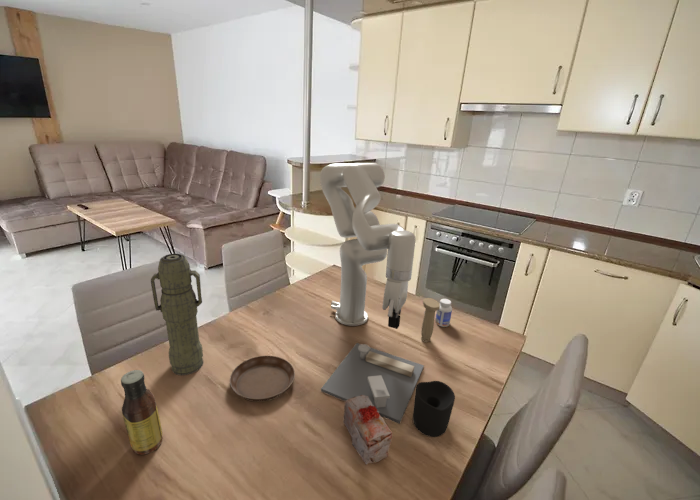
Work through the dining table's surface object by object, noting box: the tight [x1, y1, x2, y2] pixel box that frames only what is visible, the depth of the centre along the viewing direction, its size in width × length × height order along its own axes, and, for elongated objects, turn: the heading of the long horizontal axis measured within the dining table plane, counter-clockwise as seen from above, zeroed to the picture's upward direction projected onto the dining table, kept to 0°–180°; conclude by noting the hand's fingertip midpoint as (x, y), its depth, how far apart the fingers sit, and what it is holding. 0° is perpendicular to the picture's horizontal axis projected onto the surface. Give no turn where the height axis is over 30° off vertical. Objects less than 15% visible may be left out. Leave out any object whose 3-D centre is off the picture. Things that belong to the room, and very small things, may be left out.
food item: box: [342, 395, 393, 465], centre depth 80 cm, size 14×8×10 cm, turn 27°
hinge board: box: [320, 342, 425, 425], centre depth 101 cm, size 23×24×5 cm
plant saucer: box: [229, 355, 296, 403], centre depth 97 cm, size 18×18×3 cm
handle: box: [420, 297, 440, 343], centre depth 119 cm, size 5×6×15 cm
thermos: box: [150, 253, 204, 376], centre depth 96 cm, size 9×12×35 cm
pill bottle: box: [434, 298, 453, 328], centre depth 130 cm, size 5×5×10 cm
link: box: [366, 351, 414, 377], centre depth 105 cm, size 15×3×2 cm, turn 65°
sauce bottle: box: [120, 369, 164, 456], centre depth 74 cm, size 7×6×20 cm
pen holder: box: [412, 380, 456, 438], centre depth 86 cm, size 9×9×10 cm
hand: (393, 326), depth 107 cm, fingers closed
